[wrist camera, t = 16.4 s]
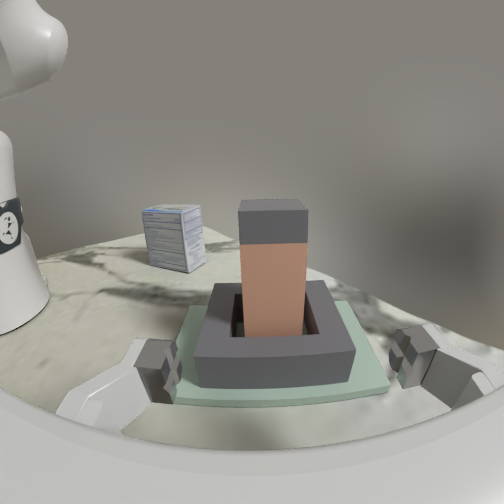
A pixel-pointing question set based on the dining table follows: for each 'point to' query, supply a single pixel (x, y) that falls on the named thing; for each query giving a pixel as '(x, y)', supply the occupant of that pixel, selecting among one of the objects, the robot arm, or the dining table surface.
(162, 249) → the medicine box
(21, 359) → the dining table surface
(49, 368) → the dining table surface
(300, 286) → the plug
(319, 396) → the board
